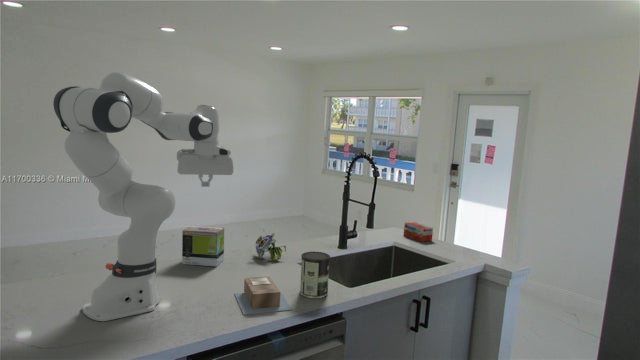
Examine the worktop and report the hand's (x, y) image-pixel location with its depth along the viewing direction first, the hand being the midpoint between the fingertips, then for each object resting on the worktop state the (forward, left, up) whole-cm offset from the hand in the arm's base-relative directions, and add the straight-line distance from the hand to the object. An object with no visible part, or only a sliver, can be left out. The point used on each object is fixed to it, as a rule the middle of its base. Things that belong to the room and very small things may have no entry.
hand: (205, 186), depth 164 cm
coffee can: (+19, -40, -35) cm, 57 cm away
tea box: (+10, +14, -35) cm, 39 cm away
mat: (0, -33, -35) cm, 48 cm away
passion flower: (+36, +1, -35) cm, 51 cm away
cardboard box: (+5, -25, -32) cm, 41 cm away
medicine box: (+125, -27, -36) cm, 132 cm away
